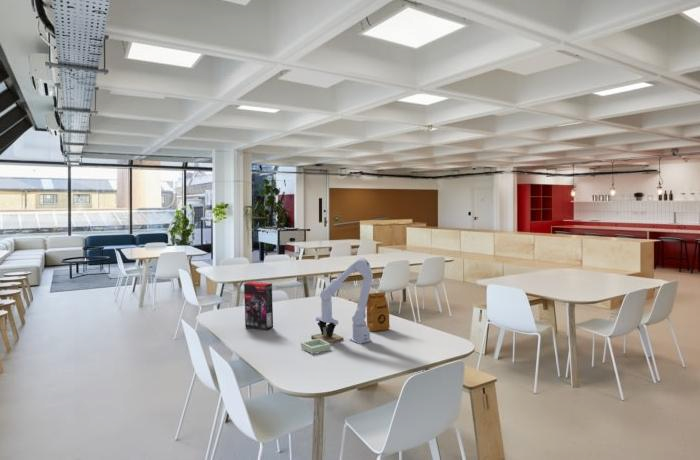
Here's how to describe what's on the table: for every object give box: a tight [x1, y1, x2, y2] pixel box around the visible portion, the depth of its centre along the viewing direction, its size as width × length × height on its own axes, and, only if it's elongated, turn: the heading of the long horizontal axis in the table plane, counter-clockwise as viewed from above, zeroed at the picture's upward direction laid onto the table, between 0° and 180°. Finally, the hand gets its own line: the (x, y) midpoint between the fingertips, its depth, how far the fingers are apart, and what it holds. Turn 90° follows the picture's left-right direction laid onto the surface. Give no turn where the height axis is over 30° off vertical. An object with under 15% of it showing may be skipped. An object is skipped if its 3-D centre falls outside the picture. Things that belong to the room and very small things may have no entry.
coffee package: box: [366, 291, 391, 332], centre depth 251 cm, size 10×12×22 cm
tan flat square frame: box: [310, 332, 344, 344], centre depth 235 cm, size 14×12×2 cm
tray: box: [300, 339, 332, 355], centre depth 219 cm, size 11×11×3 cm
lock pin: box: [323, 325, 332, 338], centre depth 235 cm, size 4×4×7 cm
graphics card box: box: [243, 281, 274, 331], centre depth 258 cm, size 17×7×27 cm, turn 62°
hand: (327, 335), depth 235 cm, fingers closed on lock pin, 4 cm apart
